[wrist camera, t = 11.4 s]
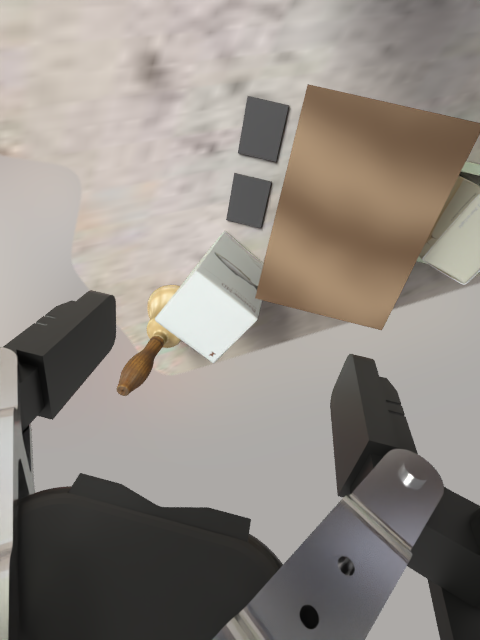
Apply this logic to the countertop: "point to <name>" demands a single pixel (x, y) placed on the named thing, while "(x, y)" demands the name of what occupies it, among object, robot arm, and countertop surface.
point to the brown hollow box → (359, 203)
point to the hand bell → (149, 343)
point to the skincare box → (456, 234)
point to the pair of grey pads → (259, 142)
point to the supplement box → (216, 299)
